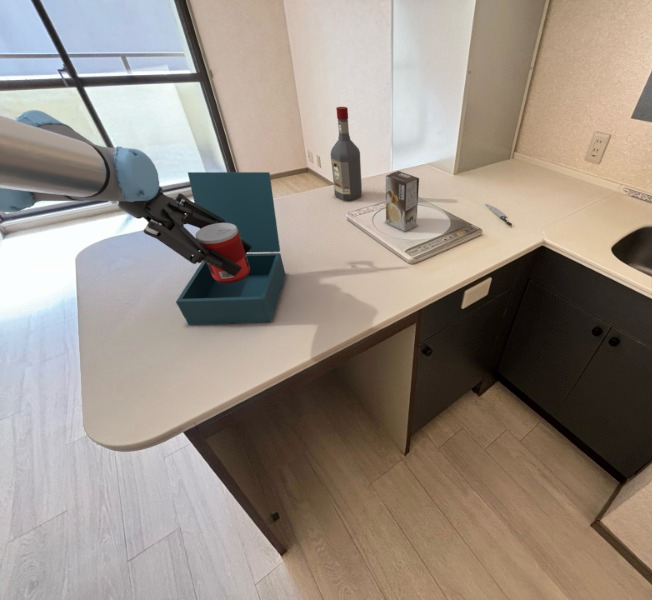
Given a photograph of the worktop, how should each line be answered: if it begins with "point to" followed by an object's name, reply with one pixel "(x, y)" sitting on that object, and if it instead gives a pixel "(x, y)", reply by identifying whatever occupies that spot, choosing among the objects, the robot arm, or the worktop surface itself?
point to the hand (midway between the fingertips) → (243, 260)
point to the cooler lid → (240, 204)
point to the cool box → (234, 294)
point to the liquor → (346, 162)
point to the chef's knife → (499, 214)
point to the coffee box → (401, 200)
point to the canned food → (224, 249)
